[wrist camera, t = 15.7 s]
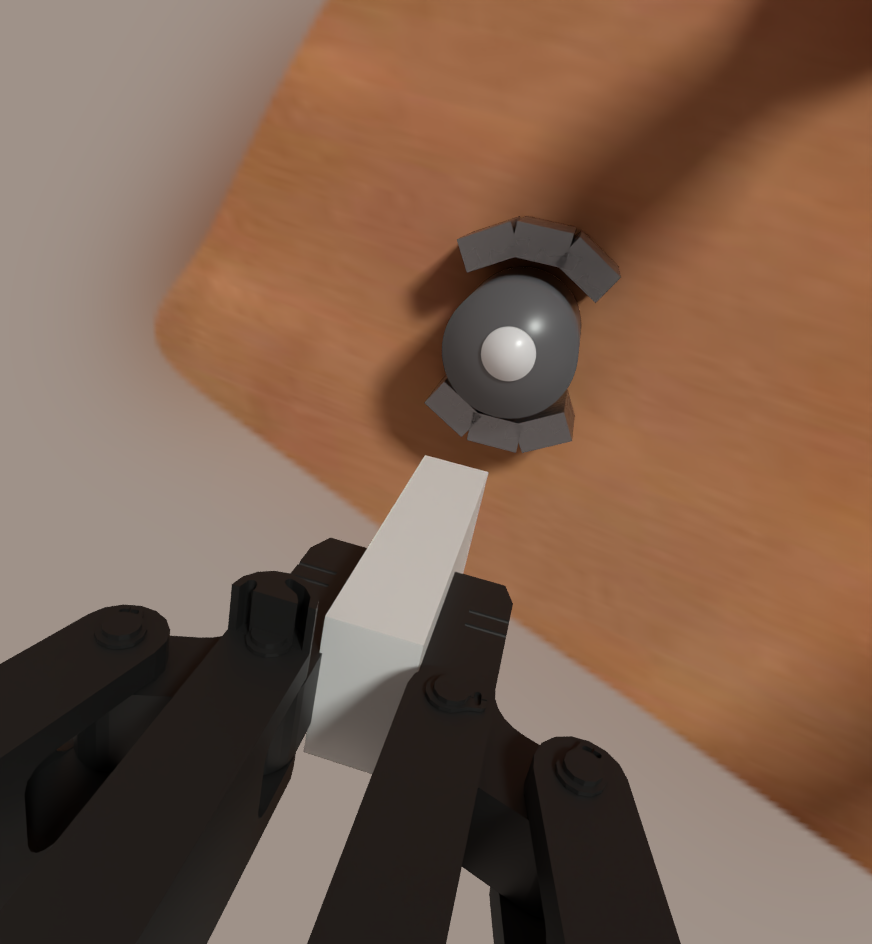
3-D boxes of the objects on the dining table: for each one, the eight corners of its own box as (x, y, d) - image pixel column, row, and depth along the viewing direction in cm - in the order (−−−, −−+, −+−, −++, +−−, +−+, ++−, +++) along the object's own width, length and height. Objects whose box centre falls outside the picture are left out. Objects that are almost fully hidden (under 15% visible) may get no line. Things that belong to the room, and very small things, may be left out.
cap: (477, 254, 36) (455, 270, 30) (595, 281, 35) (594, 302, 30) (454, 368, 39) (429, 401, 33) (563, 395, 38) (557, 434, 32)
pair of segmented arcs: (477, 204, 35) (462, 208, 31) (626, 238, 34) (630, 246, 31) (435, 404, 39) (419, 427, 36) (567, 438, 39) (564, 465, 35)
